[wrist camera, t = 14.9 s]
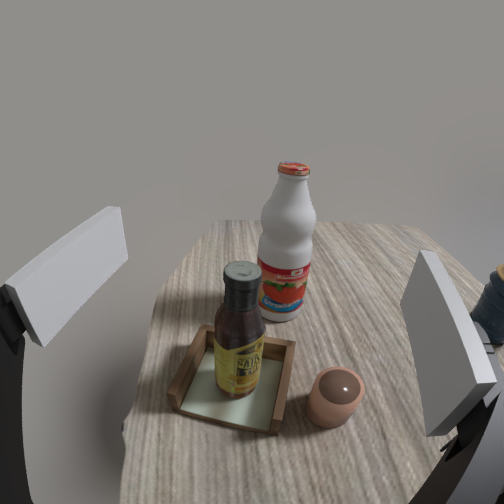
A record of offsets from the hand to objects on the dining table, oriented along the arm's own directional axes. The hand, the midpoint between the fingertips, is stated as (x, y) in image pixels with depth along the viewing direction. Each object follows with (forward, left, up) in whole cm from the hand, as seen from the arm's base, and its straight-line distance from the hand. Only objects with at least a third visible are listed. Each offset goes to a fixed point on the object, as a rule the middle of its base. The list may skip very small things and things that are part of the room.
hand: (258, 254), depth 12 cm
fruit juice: (-11, -33, -32) cm, 47 cm away
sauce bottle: (-1, -15, -31) cm, 34 cm away
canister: (-61, -16, -32) cm, 71 cm away
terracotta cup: (-14, -9, -32) cm, 36 cm away
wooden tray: (-1, -15, -32) cm, 35 cm away
